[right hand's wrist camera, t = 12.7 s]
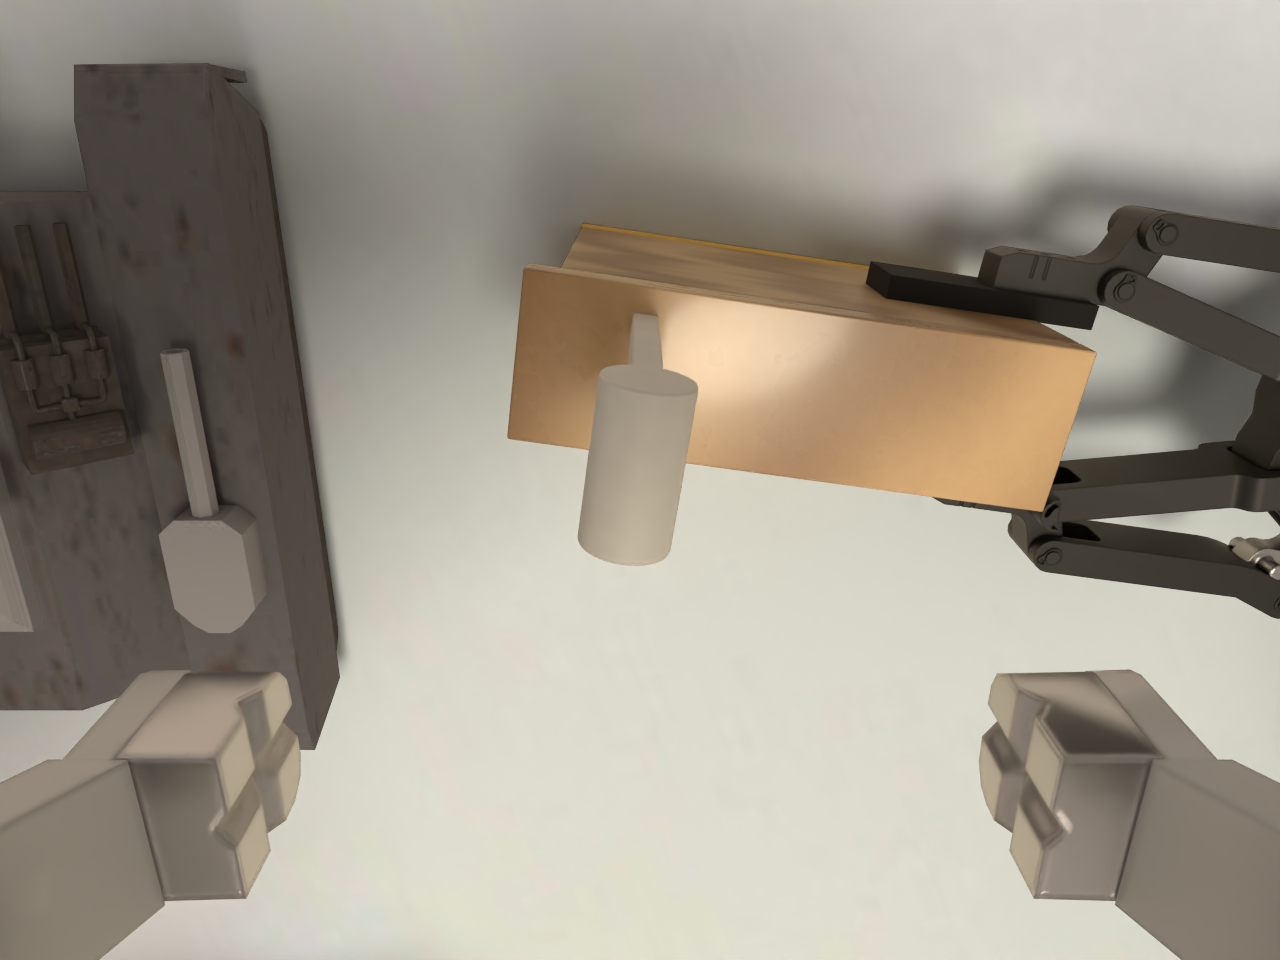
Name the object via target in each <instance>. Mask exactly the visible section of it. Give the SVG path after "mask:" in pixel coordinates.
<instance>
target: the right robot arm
mask: <svg viewBox="0 0 1280 960" xmlns="http://www.w3.org/2000/svg"><path fill="white" fill-rule="evenodd" d="M291 705H292V701H291V696H290V691H289V687H288V682H287V679H286V678H285V677H284V676H283V675H282V674H281V673H279V672H245V671H196V670H195V671H189V670H152V671H148V672H145V673H141V674H139V676H138V677H137V678H136V679H135V680H134V681H133V682H132V683H131V684H130V685H129V686H128V688H127V689H126V690H125V691H124V692H123V693H122V694H121V695H120V696H119V698H118V699H117V700H116V701H115V702H114V703H113V704H112V705H111V706H110V708H109V709H108V710H107V711H106V712H105V713H104V714H103V715H102V716H101V717H100V719H99V720H98V721H97V722H96V723H95V724H94V725H93V726H92V727H91V729H90V730H89V731H88V732H87V733H86V734H85V735H84V736H83V737H82V739H81V740H80V741H79V742H78V743H77V744H76V745H75V746H74V747H73V748H72V750H71V751H70V752H69V753H68V754H67V755H66V756H65V757H64V758H63V760H46V761H44V762H42V763H40V764H38V765H36V766H34V767H32V768H30V769H28V770H26V771H24V772H22V773H20V774H18V775H16V776H14V777H12V778H10V779H8V780H6V781H4V782H1V783H0V960H99V959H100V958H102V957H103V956H104V955H105V954H106V953H108V952H109V951H110V950H111V949H113V948H114V947H115V946H116V945H117V944H119V943H120V942H121V941H122V940H123V939H125V938H126V937H127V936H128V935H129V934H131V933H132V932H133V931H134V930H135V929H137V928H138V927H139V926H140V925H141V924H143V923H144V922H145V921H146V920H148V919H149V918H150V917H151V916H152V915H154V914H155V913H156V912H157V911H158V910H160V909H161V908H162V907H163V906H164V905H165V903H164V901H178V900H213V899H246V898H247V896H248V894H249V892H250V890H251V888H252V886H253V884H254V882H255V880H256V878H257V876H258V874H259V872H260V870H261V868H262V866H263V864H264V863H265V861H266V859H267V857H268V855H269V853H270V851H271V850H270V845H269V840H268V834H267V833H268V832H270V831H271V830H273V829H274V828H275V827H277V826H278V825H280V824H281V823H283V822H284V821H285V820H286V819H287V817H288V814H289V812H290V810H291V808H292V806H293V804H294V802H295V798H296V794H297V789H298V784H299V780H300V771H301V754H300V748H299V741H298V736H297V735H296V734H295V733H294V732H293V731H292V730H291V729H290V728H289V727H288V726H287V725H286V724H285V723H284V722H283V719H284V717H285V716H286V714H287V712H288V710H289V709H290V707H291ZM988 705H989V707H990V709H991V710H992V712H993V714H994V716H995V717H996V719H997V722H996V723H995V724H994V725H993V726H992V727H991V728H990V729H989V730H988V731H987V732H986V733H985V734H984V735H983V736H982V742H981V750H980V757H979V768H980V780H981V787H982V791H983V794H984V798H985V801H986V804H987V806H988V808H989V810H990V812H991V815H992V817H993V819H994V820H995V821H996V822H997V823H999V824H1000V825H1002V826H1003V827H1005V828H1006V829H1007V830H1009V831H1010V832H1012V833H1013V834H1012V840H1011V845H1010V850H1009V851H1010V853H1011V855H1012V857H1013V859H1014V861H1015V862H1016V864H1017V866H1018V868H1019V870H1020V872H1021V874H1022V876H1023V878H1024V880H1025V882H1026V884H1027V886H1028V888H1029V890H1030V892H1031V894H1032V896H1033V898H1034V899H1065V900H1101V901H1116V902H1115V905H1116V906H1117V907H1118V908H1120V909H1121V910H1122V911H1123V912H1124V913H1126V914H1127V915H1128V916H1129V917H1130V918H1132V919H1133V920H1134V921H1135V922H1136V923H1138V924H1139V925H1140V926H1141V927H1143V928H1144V929H1145V930H1146V931H1147V932H1149V933H1150V934H1151V935H1152V936H1153V937H1155V938H1156V939H1157V940H1158V941H1159V942H1161V943H1162V944H1163V945H1164V946H1165V947H1167V948H1168V949H1169V950H1170V951H1171V952H1173V953H1174V954H1175V955H1176V956H1177V957H1179V958H1180V959H1181V960H1280V783H1278V782H1276V781H1274V780H1272V779H1270V778H1268V777H1266V776H1264V775H1262V774H1260V773H1258V772H1256V771H1254V770H1252V769H1250V768H1248V767H1246V766H1244V765H1242V764H1240V763H1238V762H1236V761H1234V760H1217V758H1216V757H1215V756H1214V755H1213V754H1212V753H1211V752H1210V751H1209V750H1208V749H1207V747H1206V746H1205V745H1204V744H1203V743H1202V742H1201V741H1200V740H1199V739H1198V737H1197V736H1196V735H1195V734H1194V733H1193V732H1192V731H1191V730H1190V729H1189V727H1188V726H1187V725H1186V724H1185V723H1184V722H1183V721H1182V720H1181V719H1180V717H1179V716H1178V715H1177V714H1176V713H1175V712H1174V711H1173V710H1172V709H1171V707H1170V706H1169V705H1168V704H1167V703H1166V702H1165V701H1164V700H1163V699H1162V698H1161V696H1160V695H1159V694H1158V693H1157V692H1156V691H1155V690H1154V689H1153V688H1152V686H1151V685H1150V684H1149V683H1148V682H1147V681H1146V680H1145V679H1144V678H1143V676H1142V675H1140V674H1138V673H1136V672H1134V671H1132V670H1105V671H1085V672H1051V673H997V675H996V677H995V679H994V681H993V683H992V685H991V690H990V695H989V700H988Z"/></svg>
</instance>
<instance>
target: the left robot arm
mask: <svg viewBox="0 0 1280 960" xmlns="http://www.w3.org/2000/svg"><path fill="white" fill-rule="evenodd" d="M1107 230H1108V234H1107V235H1106V236H1105V238H1104V239H1103V241H1102V242H1101V243H1100V245H1099V246H1098V247H1097V248H1096V249H1095V250H1093V251H1092V252H1091V253H1089V254H1087V255H1084V256H1076V257H1071V256H1065V255H1058V254H1052V253H1045V252H1039V251H1032V250H1026V249H1019V248H1013V247H1006V246H1000V247H996V248H992V249H987V250H985V254H984V257H983V261H982V264H981V268H980V271H979V275H978V277H972V276H965V275H958V274H952V273H945V272H939V271H932V270H925V269H919V268H912V267H906V266H899V265H892V264H886V263H879V262H873V261H871V262H870V266H869V270H868V275H867V279H866V284H867V285H868V286H870V287H871V288H872V289H874V290H875V291H876V292H878V293H879V294H880V295H882V296H883V297H884V298H886V299H892V300H898V301H905V302H912V303H919V304H925V305H932V306H939V307H946V308H952V309H959V310H966V311H973V312H979V313H986V314H993V315H1000V316H1006V317H1013V318H1020V319H1027V320H1033V321H1037V322H1040V323H1046V324H1053V325H1060V326H1067V327H1073V328H1080V329H1087V330H1091V329H1092V326H1093V323H1094V320H1095V317H1096V314H1097V311H1098V308H1099V306H1098V305H1102V306H1106V307H1108V308H1111V309H1113V310H1115V311H1118V312H1120V313H1122V314H1124V315H1127V316H1129V317H1131V318H1134V319H1136V320H1138V321H1140V322H1143V323H1145V324H1147V325H1150V326H1152V327H1154V328H1156V329H1159V330H1161V331H1163V332H1166V333H1168V334H1170V335H1172V336H1175V337H1177V338H1179V339H1182V340H1184V341H1186V342H1188V343H1191V344H1193V345H1195V346H1198V347H1200V348H1202V349H1204V350H1207V351H1209V352H1211V353H1214V354H1216V355H1218V356H1220V357H1223V358H1225V359H1227V360H1230V361H1232V362H1234V363H1236V364H1238V365H1241V366H1243V367H1245V368H1247V369H1250V370H1252V371H1254V372H1257V373H1259V374H1261V375H1262V377H1261V380H1260V382H1259V385H1258V387H1257V389H1256V394H1255V401H1254V408H1253V413H1252V415H1251V416H1250V418H1249V419H1248V421H1247V422H1246V423H1245V425H1244V426H1243V428H1242V429H1241V430H1240V432H1239V433H1238V435H1237V438H1236V440H1235V441H1224V442H1212V443H1204V444H1201V445H1199V447H1198V449H1194V450H1183V451H1172V452H1161V453H1149V454H1138V455H1126V456H1115V457H1103V458H1092V459H1081V460H1069V461H1060V463H1059V466H1058V469H1057V472H1056V475H1055V478H1054V481H1053V483H1052V486H1051V489H1050V492H1049V495H1048V498H1047V501H1046V504H1045V507H1044V510H1043V511H1042V512H1039V511H1032V510H1025V509H1017V508H1010V507H1003V506H995V505H988V504H981V503H973V502H966V501H959V500H951V499H944V498H937V497H933V498H935V499H936V500H938V501H940V502H942V503H943V504H947V505H955V506H962V507H969V508H971V507H973V508H977V509H984V510H991V511H999V512H1006V513H1011V514H1012V519H1011V521H1010V523H1009V524H1008V533H1009V536H1010V537H1011V538H1012V539H1013V540H1014V542H1015V543H1016V544H1017V545H1018V546H1019V547H1020V549H1021V550H1022V551H1023V552H1024V553H1025V554H1026V555H1027V557H1028V558H1029V559H1030V560H1031V561H1032V562H1033V563H1034V564H1035V566H1036V567H1037V568H1039V569H1040V570H1042V571H1045V572H1050V573H1057V574H1065V575H1072V576H1080V577H1087V578H1095V579H1102V580H1110V581H1117V582H1125V583H1132V584H1140V585H1147V586H1155V587H1162V588H1170V589H1177V590H1185V591H1192V592H1200V593H1207V594H1215V595H1222V596H1230V597H1236V598H1238V599H1240V600H1242V601H1243V602H1245V603H1247V604H1249V605H1251V606H1252V607H1254V608H1256V609H1258V610H1260V611H1262V612H1263V613H1265V614H1267V615H1269V616H1271V617H1273V618H1277V619H1280V534H1279V535H1277V536H1276V537H1274V538H1271V539H1264V540H1263V539H1258V538H1247V539H1244V538H1242V537H1235V538H1233V539H1232V540H1231V541H1230V543H1229V546H1228V545H1226V544H1224V543H1222V542H1220V541H1217V540H1214V539H1211V538H1208V537H1203V536H1198V535H1192V534H1185V533H1177V532H1170V531H1163V530H1155V529H1148V528H1141V527H1134V526H1126V525H1119V524H1112V523H1104V522H1097V521H1090V520H1092V519H1103V518H1115V517H1127V516H1139V515H1150V514H1162V513H1174V512H1186V511H1197V510H1209V509H1221V508H1238V509H1242V510H1246V511H1251V512H1268V513H1269V514H1270V515H1271V516H1272V517H1273V519H1274V520H1275V521H1276V522H1277V523H1278V525H1279V526H1280V336H1277V335H1275V334H1273V333H1271V332H1268V331H1266V330H1264V329H1262V328H1259V327H1257V326H1255V325H1253V324H1250V323H1248V322H1246V321H1244V320H1241V319H1239V318H1237V317H1235V316H1232V315H1230V314H1228V313H1226V312H1224V311H1221V310H1219V309H1217V308H1215V307H1212V306H1210V305H1208V304H1206V303H1203V302H1201V301H1199V300H1197V299H1194V298H1192V297H1190V296H1188V295H1185V294H1183V293H1181V292H1179V291H1176V290H1174V289H1172V288H1170V287H1167V286H1165V285H1163V284H1161V283H1159V282H1156V281H1154V280H1152V279H1150V278H1147V276H1148V274H1149V273H1150V272H1151V270H1152V269H1153V267H1154V266H1155V265H1156V263H1157V262H1158V261H1159V259H1160V258H1161V257H1162V255H1168V256H1174V257H1181V258H1187V259H1194V260H1200V261H1207V262H1213V263H1220V264H1226V265H1233V266H1239V267H1246V268H1252V269H1259V270H1265V271H1272V272H1278V273H1280V228H1274V227H1267V226H1261V225H1254V224H1248V223H1242V222H1235V221H1229V220H1222V219H1216V218H1210V217H1203V216H1197V215H1190V214H1184V213H1178V212H1171V211H1165V210H1159V209H1152V208H1146V207H1139V206H1133V205H1132V206H1124V207H1122V208H1119V209H1118V210H1117V211H1116V212H1115V213H1113V214H1112V216H1111V218H1110V220H1109V222H1108V228H1107ZM1095 304H1096V305H1095Z"/></svg>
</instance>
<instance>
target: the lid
mask: <svg viewBox="0 0 1280 960" xmlns="http://www.w3.org/2000/svg"><path fill="white" fill-rule="evenodd" d="M1095 357H1096V352H1095V351H1093V350H1091V349H1089V348H1087V347H1085V346H1083V345H1081V344H1076V343H1069V342H1062V341H1055V340H1048V339H1042V338H1035V337H1028V336H1021V335H1015V334H1008V333H1001V332H994V331H987V330H981V329H974V328H967V327H960V326H953V325H947V324H940V323H933V322H926V321H919V320H913V319H906V318H899V317H892V316H886V315H879V314H872V313H865V312H858V311H852V310H845V309H838V308H831V307H824V306H818V305H811V304H804V303H797V302H791V301H784V300H777V299H770V298H763V297H757V296H750V295H743V294H736V293H729V292H723V291H716V290H709V289H702V288H695V287H689V286H682V285H675V284H668V283H662V282H655V281H648V280H641V279H634V278H628V277H621V276H614V275H607V274H600V273H594V272H587V271H580V270H573V269H567V268H560V267H553V266H546V265H539V264H533V263H528V264H527V266H526V267H525V268H524V270H523V280H522V290H521V300H520V311H519V321H518V332H517V342H516V352H515V363H514V373H513V383H512V394H511V404H510V415H509V425H508V435H507V437H508V438H509V439H513V440H521V441H528V442H535V443H542V444H550V445H557V446H564V447H572V448H579V449H586V450H589V455H588V462H587V470H586V477H585V485H584V492H583V500H582V507H581V515H580V523H579V530H578V541H579V544H580V545H581V547H582V548H583V549H584V550H585V551H586V552H588V553H589V554H591V555H593V556H594V557H597V558H599V559H601V560H604V561H607V562H611V563H615V564H621V565H630V566H642V565H649V564H654V563H657V562H660V561H662V560H663V559H665V558H666V557H667V555H668V554H669V552H670V549H671V543H672V538H673V532H674V526H675V521H676V515H677V509H678V504H679V498H680V492H681V487H682V481H683V475H684V470H685V464H686V463H689V464H696V465H703V466H710V467H718V468H725V469H732V470H740V471H747V472H754V473H762V474H769V475H776V476H783V477H791V478H798V479H805V480H813V481H820V482H827V483H835V484H842V485H849V486H857V487H864V488H871V489H878V490H886V491H893V492H900V493H908V494H915V495H922V496H930V497H937V498H944V499H951V500H959V501H966V502H973V503H981V504H988V505H995V506H1003V507H1010V508H1017V509H1025V510H1032V511H1039V512H1042V511H1043V510H1044V507H1045V504H1046V501H1047V498H1048V495H1049V492H1050V489H1051V486H1052V483H1053V481H1054V478H1055V475H1056V472H1057V469H1058V466H1059V463H1060V460H1061V457H1062V454H1063V451H1064V448H1065V445H1066V442H1067V439H1068V437H1069V434H1070V431H1071V428H1072V425H1073V422H1074V419H1075V416H1076V413H1077V410H1078V407H1079V404H1080V401H1081V398H1082V395H1083V393H1084V390H1085V387H1086V384H1087V381H1088V378H1089V375H1090V372H1091V369H1092V366H1093V363H1094V360H1095Z"/></svg>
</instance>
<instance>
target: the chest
mask: <svg viewBox="0 0 1280 960" xmlns="http://www.w3.org/2000/svg"><path fill="white" fill-rule="evenodd" d="M561 268H567V269H573V270H580V271H587V272H594V273H600V274H607V275H614V276H621V277H628V278H634V279H641V280H648V281H655V282H662V283H668V284H675V285H682V286H689V287H695V288H702V289H709V290H716V291H723V292H729V293H736V294H743V295H750V296H757V297H763V298H770V299H777V300H784V301H791V302H797V303H804V304H811V305H818V306H824V307H831V308H838V309H845V310H852V311H858V312H865V313H872V314H879V315H886V316H892V317H899V318H906V319H913V320H919V321H926V322H933V323H940V324H947V325H953V326H960V327H967V328H974V329H981V330H987V331H994V332H1001V333H1008V334H1015V335H1021V336H1028V337H1035V338H1042V339H1048V340H1055V341H1062V342H1069V343H1076V344H1079V343H1077V342H1075V341H1073V340H1071V339H1070V338H1068V337H1066V336H1064V335H1062V334H1060V333H1058V332H1056V331H1054V330H1052V329H1050V328H1049V327H1047V326H1045V325H1043V324H1041V323H1039V322H1037V321H1033V320H1027V319H1020V318H1013V317H1006V316H1000V315H993V314H986V313H979V312H973V311H966V310H959V309H952V308H946V307H939V306H932V305H925V304H919V303H912V302H905V301H898V300H892V299H886V298H884V297H883V296H882V295H880V294H879V293H878V292H876V291H875V290H874V289H872V288H871V287H870V286H868V285H867V284H866V279H867V275H868V270H869V266H865V265H859V264H852V263H845V262H839V261H832V260H826V259H819V258H812V257H806V256H799V255H792V254H786V253H779V252H772V251H766V250H759V249H752V248H746V247H739V246H732V245H726V244H719V243H712V242H706V241H699V240H692V239H686V238H679V237H672V236H666V235H659V234H652V233H646V232H639V231H632V230H626V229H619V228H612V227H606V226H599V225H592V224H586V223H583V224H582V226H581V230H580V232H579V234H578V236H577V238H576V240H575V242H574V244H573V245H572V247H571V249H570V251H569V253H568V255H567V257H566V259H565V261H564V263H563V265H562V267H561Z"/></svg>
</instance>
